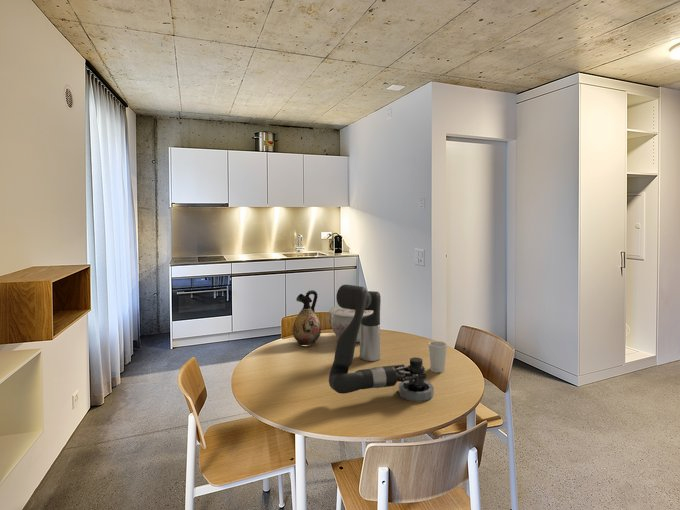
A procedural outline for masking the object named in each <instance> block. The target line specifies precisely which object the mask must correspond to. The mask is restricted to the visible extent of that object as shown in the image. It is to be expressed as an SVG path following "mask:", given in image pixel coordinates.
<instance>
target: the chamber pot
mask: <svg viewBox="0 0 680 510" xmlns="http://www.w3.org/2000/svg"><path fill="white" fill-rule="evenodd" d="M372 313H373V310H364V313H363V317H365V316H368V315H370V314H372ZM354 314H355V310H352V309H345V308H341V307H340V306H339V305H337V306H333V307H331V308H330V309H329V310H328V315H329V319H330V321H331V326H332V331H333V333H334V334H335V336H336V337H337V339H338V338H339V337H340V335H341V334H342V333H343V331H344V330H345V329H346V328H347V327H348V325H349V324H350V323H351V321H352V319H353V317H354ZM363 317H362V318H363ZM360 339H361V325H360V328H359V332H358V335H357V339H356V343H360Z"/></svg>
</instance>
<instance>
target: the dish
mask: <svg viewBox="0 0 680 510" xmlns="http://www.w3.org/2000/svg"><path fill="white" fill-rule="evenodd" d="M434 390H435V387H434V386H433V384H432V383H431V382H429V381H426V380H425V389H424V391H422V392H414V391H409V390H408V389H407V385H404V382H399V384H398V392H399V393H398V394H399V396H400V397H401V398H403V399H405V400H406V401H407V400H408V401H412V402H426V401H429V400H431V399H433V397H434V394H435V392H434Z"/></svg>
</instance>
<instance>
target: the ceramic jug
mask: <svg viewBox="0 0 680 510" xmlns="http://www.w3.org/2000/svg"><path fill="white" fill-rule="evenodd" d="M310 295H313V300H312V298H311V297H310ZM295 298H296V300H295V301H296V302H299V303H302V304H303V306H302V309H301V310H300V311H299V312H298V315H297V316H296V317H295V319H294V322H293V327H292V335H293V338H294V339H295V341H296V342H297V344H299V345H298V346H300V345H312V346H314V345H315V344H316V342H317V340H318V339H319V337H320V336H321V333H322V328H321V323H320V320H319V318H318V317H317V315H316V312H315V307H316V305H317V304H316V303H317V300H318V292H317V291H315V290H314V289H313V290H308V291H307V292H306V293H305V295H304V294H303V293H300V294H298V295H297V297H295ZM310 303H311V304H310ZM313 344H314V345H313Z"/></svg>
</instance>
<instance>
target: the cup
mask: <svg viewBox="0 0 680 510" xmlns="http://www.w3.org/2000/svg"><path fill="white" fill-rule="evenodd" d="M447 347H448V343H446V342H444V341H436V340H432V341H429V342H428V350H429V351H428V352H429V365H430V371H431V372H434V373H438V372H440V373H444V372H445V371H446V360H447V359H446V358H447V349H448V348H447Z"/></svg>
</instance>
